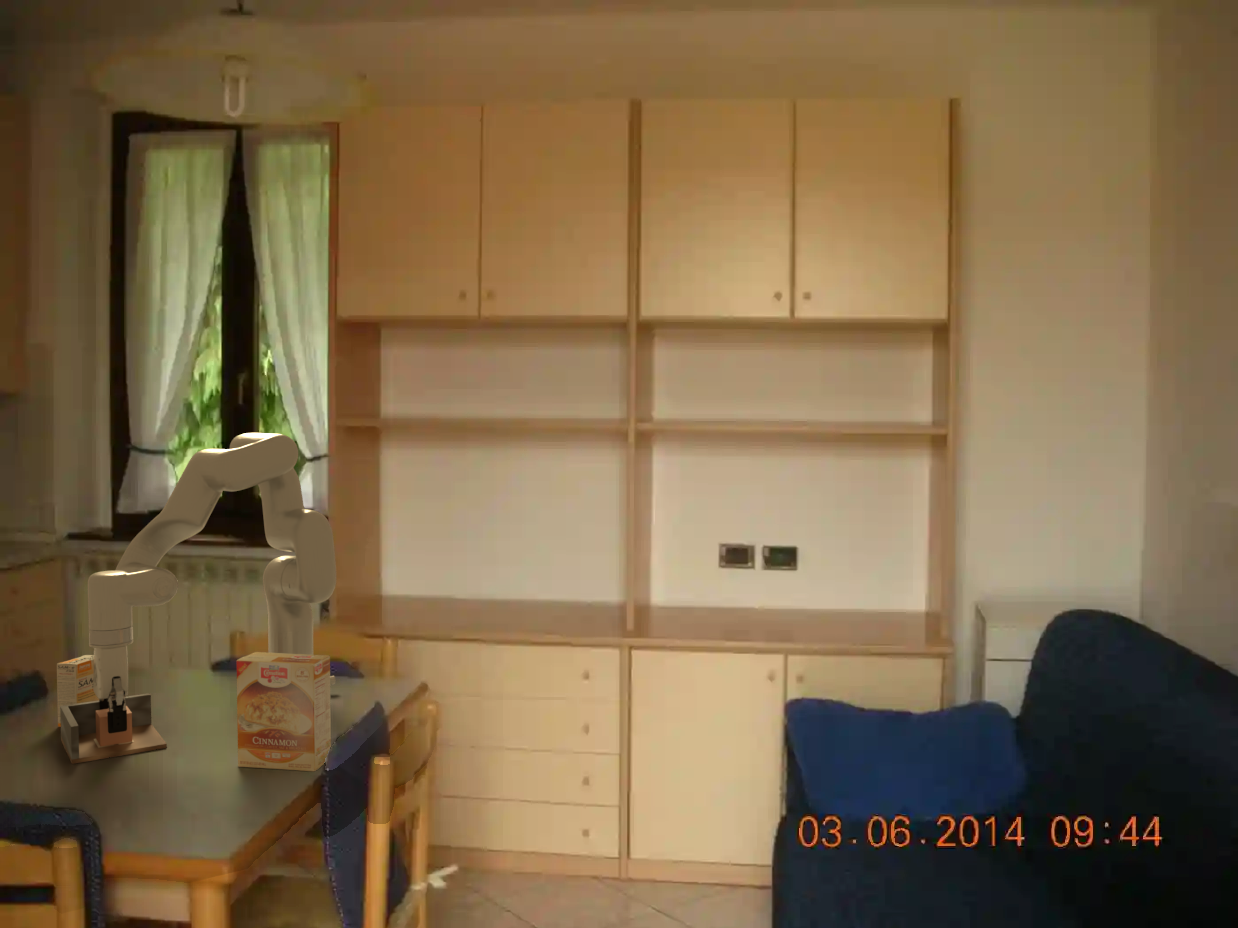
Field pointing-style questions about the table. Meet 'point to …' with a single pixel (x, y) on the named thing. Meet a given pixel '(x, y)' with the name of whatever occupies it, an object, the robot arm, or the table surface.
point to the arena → (82, 731)
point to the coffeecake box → (283, 711)
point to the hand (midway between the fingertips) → (113, 725)
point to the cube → (111, 738)
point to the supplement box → (75, 682)
